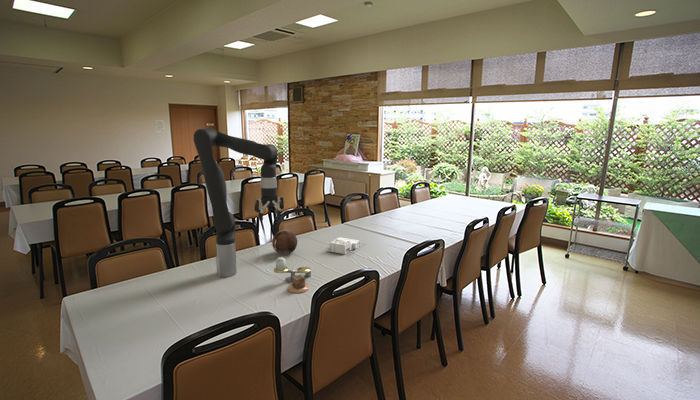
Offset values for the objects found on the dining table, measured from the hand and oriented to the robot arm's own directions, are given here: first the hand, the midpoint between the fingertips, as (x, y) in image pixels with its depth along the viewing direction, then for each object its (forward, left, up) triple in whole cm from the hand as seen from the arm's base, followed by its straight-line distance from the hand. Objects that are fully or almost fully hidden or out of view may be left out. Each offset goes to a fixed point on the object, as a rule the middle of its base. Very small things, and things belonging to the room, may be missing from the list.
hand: (269, 218), depth 169 cm
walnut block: (+7, -16, -31) cm, 36 cm away
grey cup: (+3, -6, -25) cm, 26 cm away
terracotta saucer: (+7, -16, -32) cm, 37 cm away
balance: (+9, -6, -32) cm, 34 cm away
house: (+60, +19, -33) cm, 71 cm away
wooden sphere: (+22, +30, -32) cm, 49 cm away
